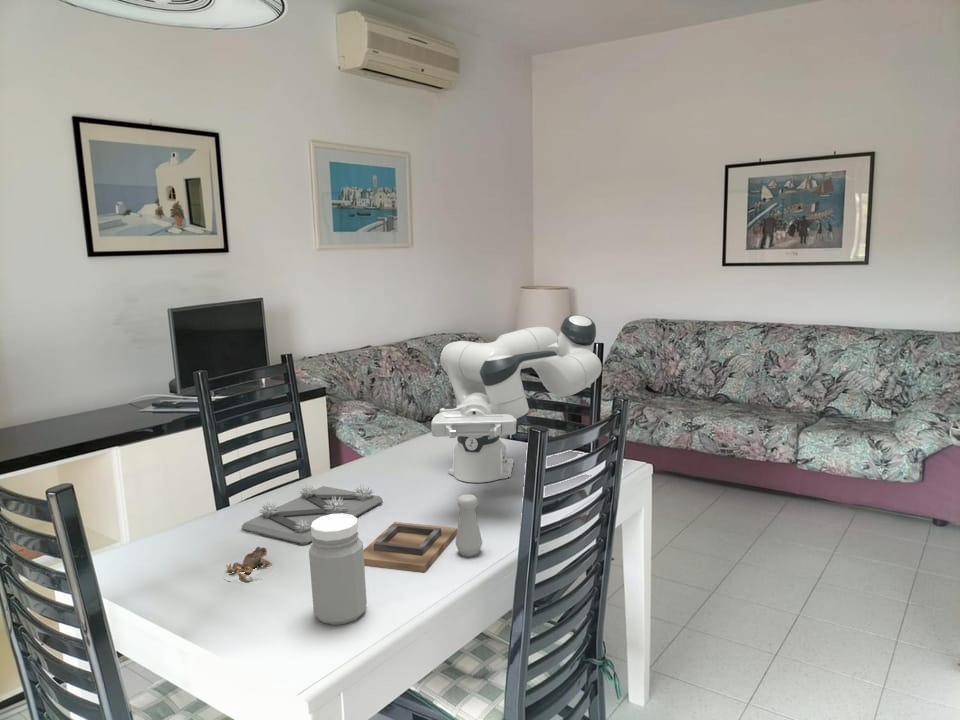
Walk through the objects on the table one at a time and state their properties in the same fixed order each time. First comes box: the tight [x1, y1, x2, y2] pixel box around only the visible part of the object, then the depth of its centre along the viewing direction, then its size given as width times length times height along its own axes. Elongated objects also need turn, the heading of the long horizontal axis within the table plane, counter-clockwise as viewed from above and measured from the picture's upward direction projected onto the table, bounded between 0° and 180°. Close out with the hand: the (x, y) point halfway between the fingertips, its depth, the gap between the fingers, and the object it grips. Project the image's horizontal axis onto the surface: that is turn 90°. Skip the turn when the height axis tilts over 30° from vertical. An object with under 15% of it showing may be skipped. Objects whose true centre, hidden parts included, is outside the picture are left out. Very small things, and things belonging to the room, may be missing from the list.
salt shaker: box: [455, 493, 483, 558], centre depth 154 cm, size 6×6×13 cm
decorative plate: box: [241, 484, 383, 546], centre depth 178 cm, size 30×22×7 cm
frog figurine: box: [226, 546, 273, 584], centre depth 150 cm, size 12×12×4 cm
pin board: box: [363, 521, 458, 573], centre depth 158 cm, size 20×16×3 cm
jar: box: [308, 513, 368, 626], centre depth 130 cm, size 10×10×18 cm
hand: (472, 434), depth 162 cm, fingers open, 8 cm apart
